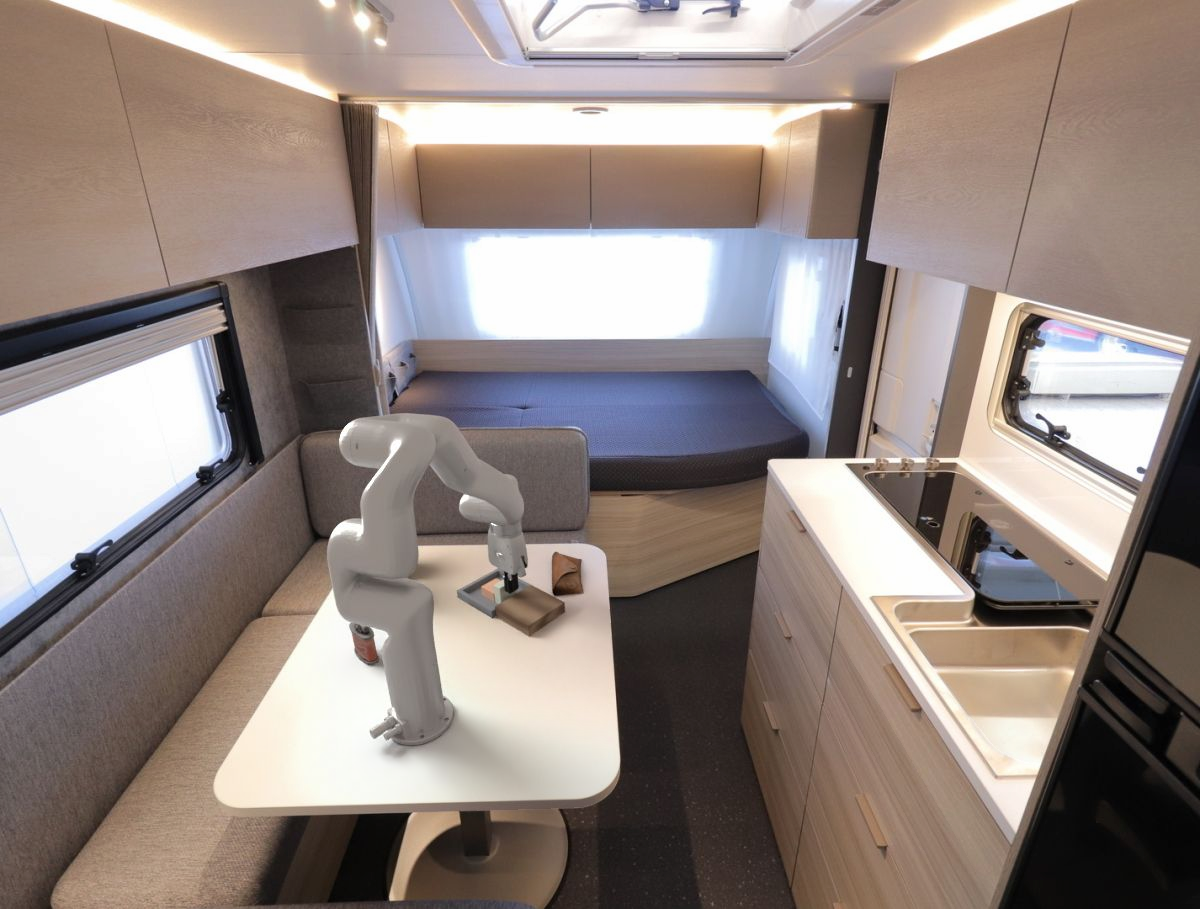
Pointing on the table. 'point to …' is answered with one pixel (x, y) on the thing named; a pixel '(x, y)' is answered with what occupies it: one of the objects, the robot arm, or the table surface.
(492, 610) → the tray
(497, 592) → the pale green rectangular block
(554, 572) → the sunglasses case
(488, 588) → the tile
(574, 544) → the table surface
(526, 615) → the brown square slab
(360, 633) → the lighter
